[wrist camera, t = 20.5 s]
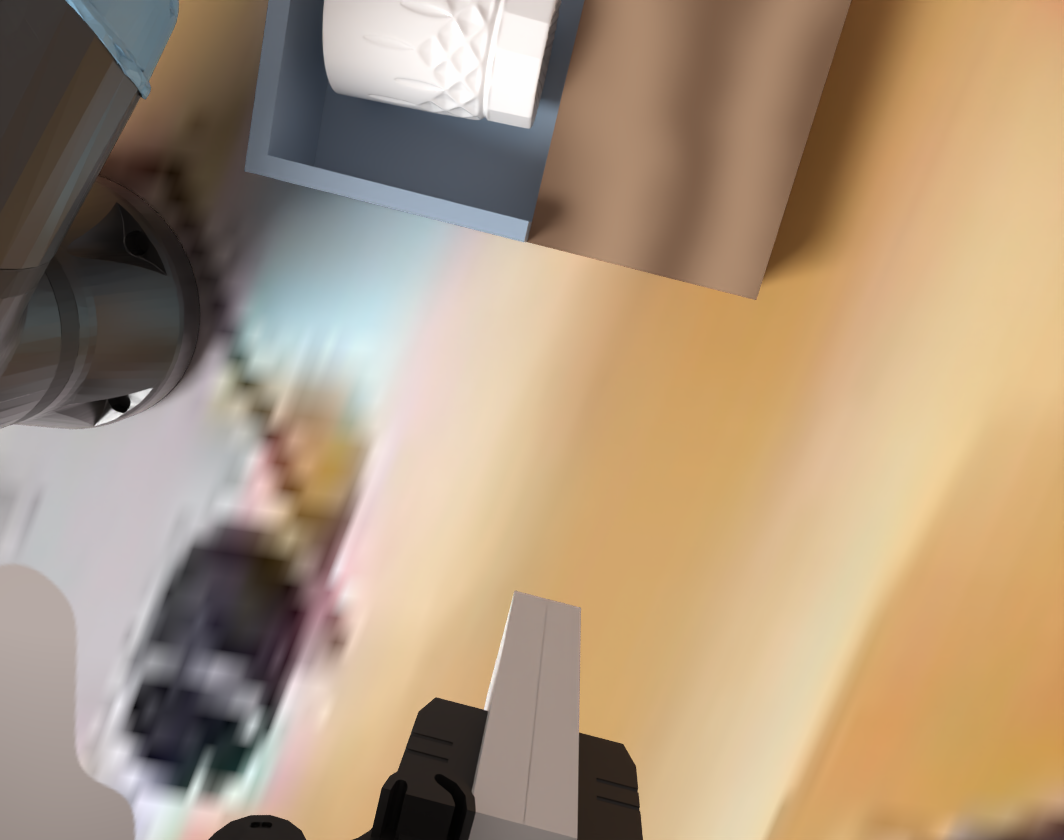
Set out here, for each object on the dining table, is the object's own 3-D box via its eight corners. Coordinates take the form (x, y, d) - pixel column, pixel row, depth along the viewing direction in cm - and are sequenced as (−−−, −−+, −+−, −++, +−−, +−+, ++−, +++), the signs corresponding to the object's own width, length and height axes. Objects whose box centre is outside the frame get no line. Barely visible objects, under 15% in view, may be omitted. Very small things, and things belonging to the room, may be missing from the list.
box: (297, 181, 43) (244, 171, 37) (354, -173, 39) (305, -260, 32) (533, 241, 43) (523, 242, 37) (617, -108, 39) (623, -181, 32)
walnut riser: (533, 241, 43) (527, 241, 38) (617, -108, 39) (621, -157, 34) (737, 292, 43) (756, 300, 38) (843, -51, 39) (880, -93, 34)
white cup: (565, -5, 40) (380, -52, 40) (569, -60, 32) (340, -118, 32) (531, 148, 42) (355, 105, 42) (527, 131, 34) (311, 77, 34)
